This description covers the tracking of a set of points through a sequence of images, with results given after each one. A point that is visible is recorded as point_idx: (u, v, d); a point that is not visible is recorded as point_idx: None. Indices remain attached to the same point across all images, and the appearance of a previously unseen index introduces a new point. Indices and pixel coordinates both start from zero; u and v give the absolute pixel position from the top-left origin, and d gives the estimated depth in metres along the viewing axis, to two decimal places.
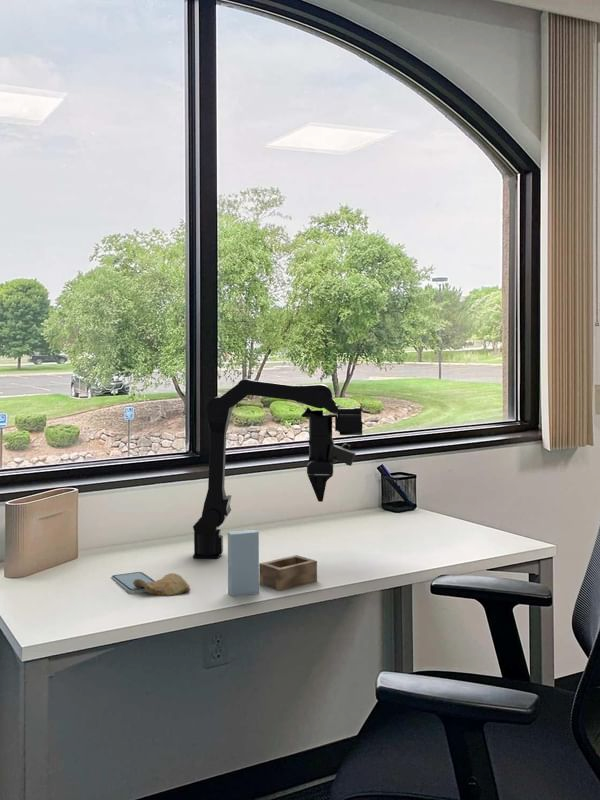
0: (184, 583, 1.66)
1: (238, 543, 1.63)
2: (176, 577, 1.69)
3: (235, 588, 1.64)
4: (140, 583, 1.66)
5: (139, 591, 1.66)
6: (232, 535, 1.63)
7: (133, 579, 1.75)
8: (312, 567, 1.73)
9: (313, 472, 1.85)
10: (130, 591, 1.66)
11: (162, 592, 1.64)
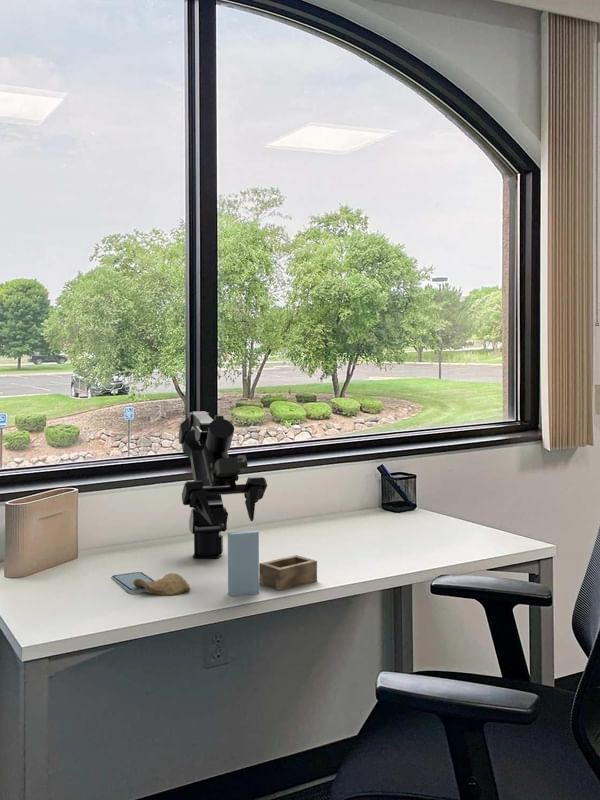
0: (184, 583, 1.66)
1: (238, 543, 1.63)
2: (176, 577, 1.69)
3: (235, 588, 1.64)
4: (140, 583, 1.66)
5: (139, 591, 1.66)
6: (232, 535, 1.63)
7: (133, 579, 1.75)
8: (312, 567, 1.73)
9: (183, 499, 1.75)
10: (130, 591, 1.66)
11: (162, 592, 1.64)
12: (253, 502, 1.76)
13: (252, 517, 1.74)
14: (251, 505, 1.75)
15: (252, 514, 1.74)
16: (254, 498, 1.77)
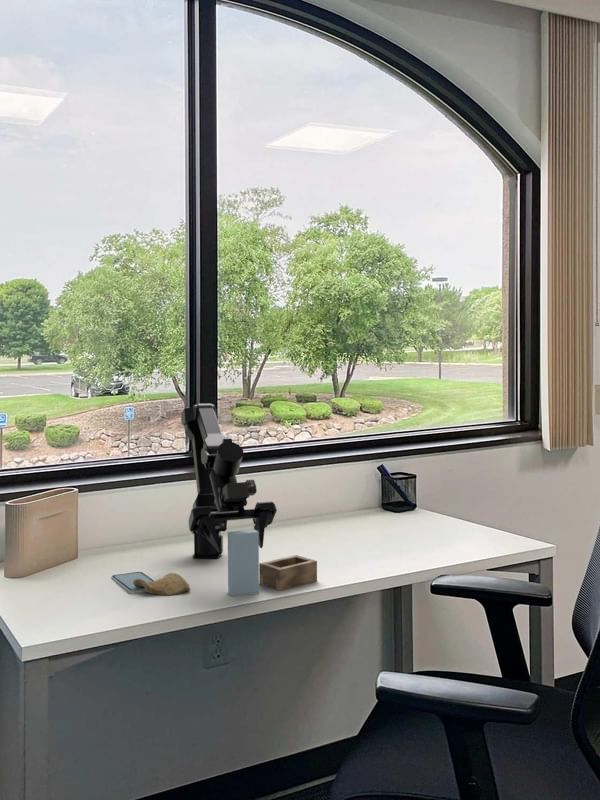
0: (184, 583, 1.67)
1: (238, 543, 1.63)
2: (176, 577, 1.69)
3: (235, 588, 1.64)
4: (140, 583, 1.66)
5: (139, 591, 1.66)
6: (232, 535, 1.63)
7: (133, 579, 1.75)
8: (312, 567, 1.73)
9: (190, 526, 1.69)
10: (130, 591, 1.66)
11: (162, 592, 1.64)
12: (262, 528, 1.70)
13: (261, 544, 1.68)
14: (260, 531, 1.70)
15: (261, 541, 1.68)
16: (263, 524, 1.71)
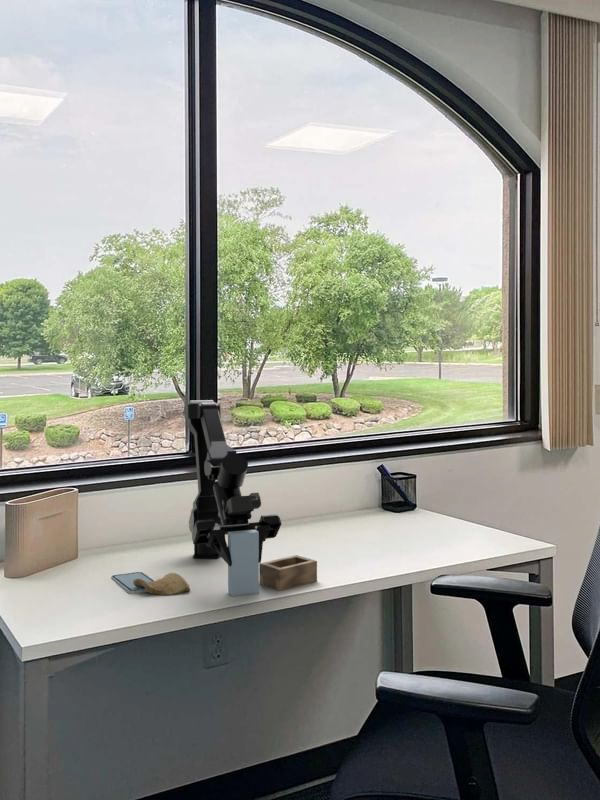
0: (184, 583, 1.67)
1: (238, 543, 1.63)
2: (176, 577, 1.69)
3: (235, 588, 1.64)
4: (140, 583, 1.66)
5: (139, 591, 1.66)
6: (232, 535, 1.63)
7: (133, 579, 1.75)
8: (312, 567, 1.73)
9: (193, 539, 1.66)
10: (130, 591, 1.66)
11: (162, 592, 1.64)
12: (260, 542, 1.67)
13: (259, 559, 1.65)
14: None
15: (259, 555, 1.65)
16: (261, 538, 1.68)
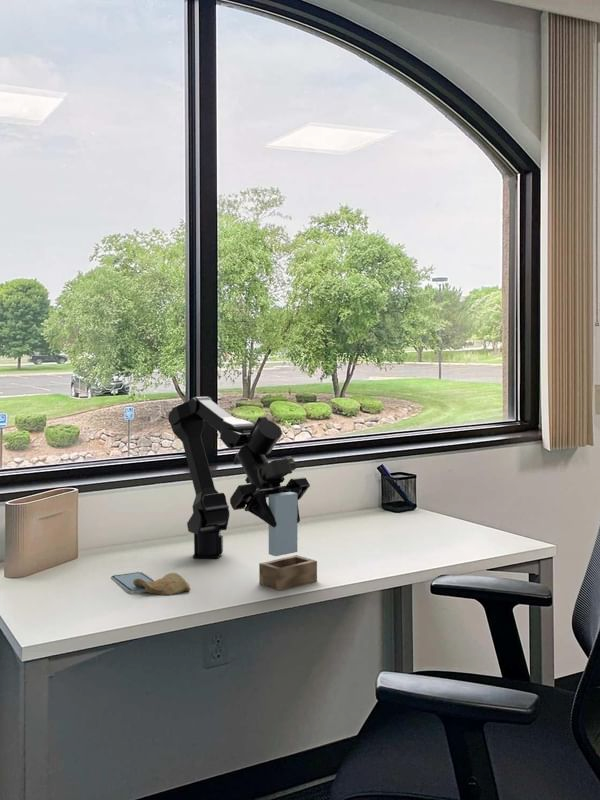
0: (184, 583, 1.67)
1: (281, 504, 1.69)
2: (176, 577, 1.69)
3: (278, 548, 1.69)
4: (140, 582, 1.66)
5: (139, 591, 1.66)
6: (276, 497, 1.68)
7: (133, 579, 1.75)
8: (312, 567, 1.73)
9: (233, 504, 1.69)
10: (130, 591, 1.66)
11: (162, 591, 1.65)
12: None
13: (298, 519, 1.72)
14: None
15: (298, 516, 1.72)
16: None
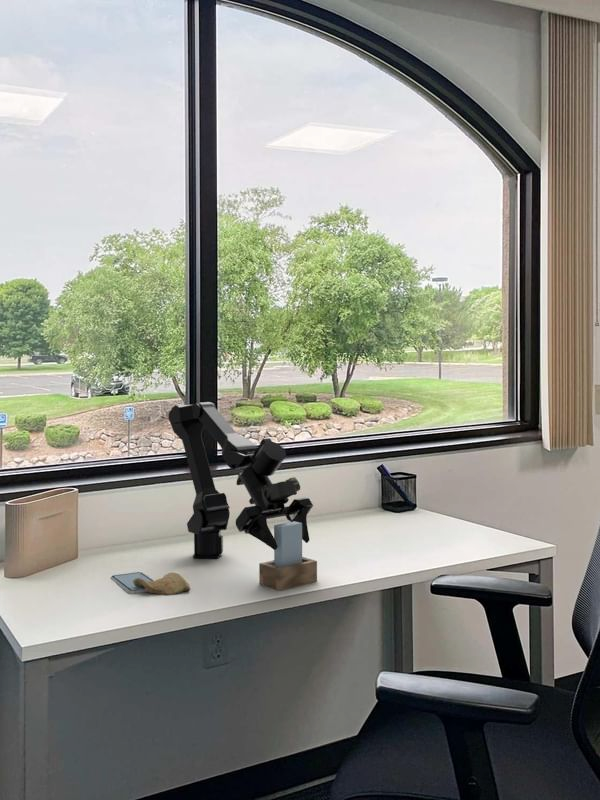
0: (184, 582, 1.67)
1: (287, 534, 1.71)
2: (176, 576, 1.69)
3: None
4: (140, 582, 1.66)
5: (139, 591, 1.66)
6: (282, 527, 1.70)
7: (133, 579, 1.74)
8: (312, 567, 1.73)
9: (239, 526, 1.70)
10: (130, 591, 1.66)
11: (162, 591, 1.65)
12: (305, 523, 1.77)
13: (308, 538, 1.75)
14: (304, 527, 1.76)
15: (307, 535, 1.75)
16: (305, 519, 1.77)
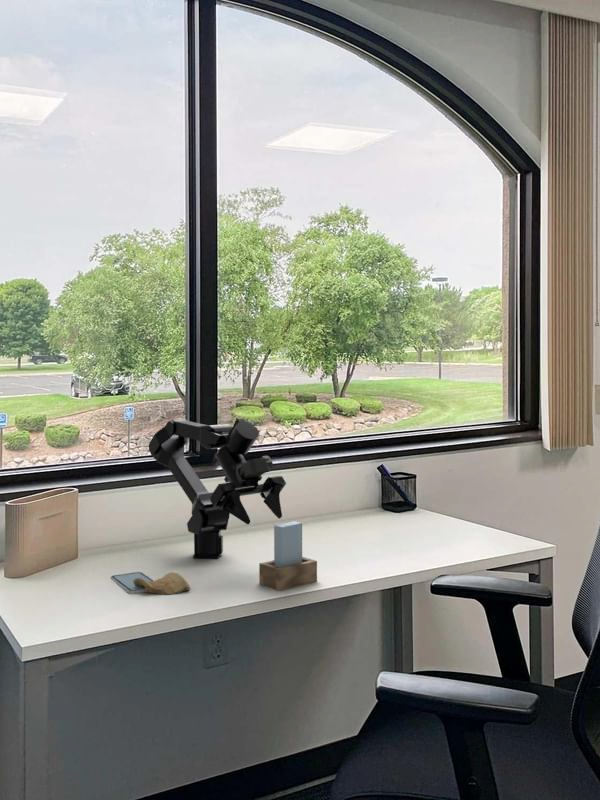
0: (184, 582, 1.67)
1: (287, 535, 1.71)
2: (176, 576, 1.70)
3: None
4: (140, 582, 1.67)
5: (139, 591, 1.66)
6: (282, 527, 1.70)
7: (132, 579, 1.74)
8: (312, 567, 1.73)
9: (214, 502, 1.77)
10: (130, 591, 1.66)
11: (162, 591, 1.65)
12: (278, 500, 1.83)
13: (280, 514, 1.81)
14: (277, 503, 1.83)
15: (280, 511, 1.82)
16: (278, 496, 1.84)
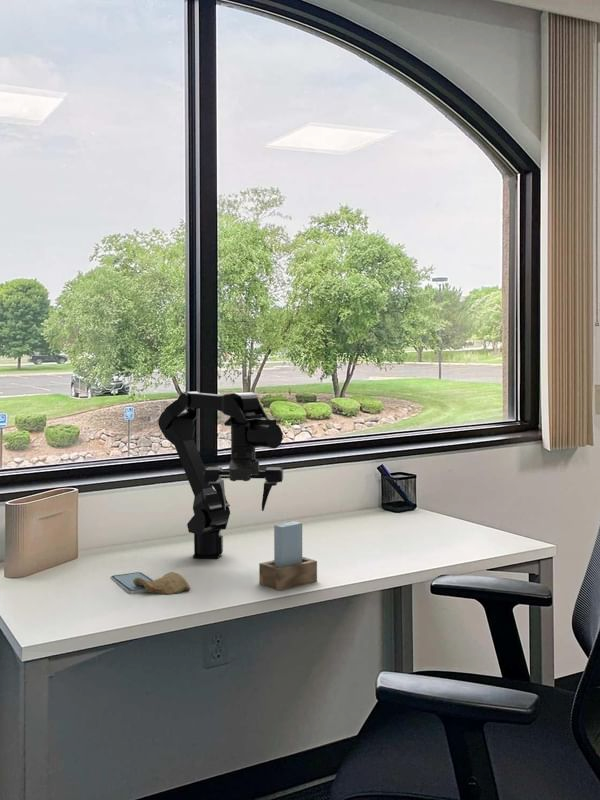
0: (184, 582, 1.67)
1: (287, 535, 1.71)
2: (176, 576, 1.70)
3: None
4: (140, 582, 1.67)
5: (139, 591, 1.66)
6: (282, 527, 1.70)
7: (132, 579, 1.74)
8: (312, 567, 1.73)
9: None
10: (130, 591, 1.66)
11: (162, 591, 1.65)
12: (266, 495, 1.86)
13: (262, 509, 1.87)
14: (263, 498, 1.86)
15: (263, 506, 1.87)
16: (267, 491, 1.86)
